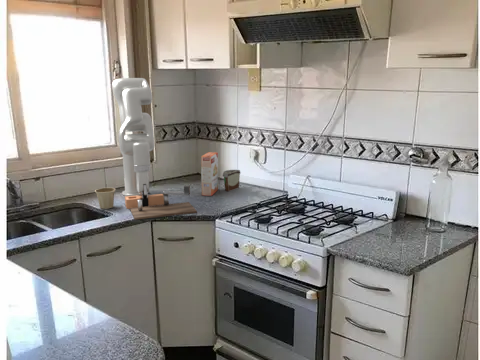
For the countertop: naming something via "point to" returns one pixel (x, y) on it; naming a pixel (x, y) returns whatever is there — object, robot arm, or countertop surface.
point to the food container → (231, 179)
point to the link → (133, 200)
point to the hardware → (166, 202)
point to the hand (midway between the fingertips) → (144, 204)
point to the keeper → (185, 192)
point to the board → (163, 210)
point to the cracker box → (209, 173)
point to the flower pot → (105, 197)
